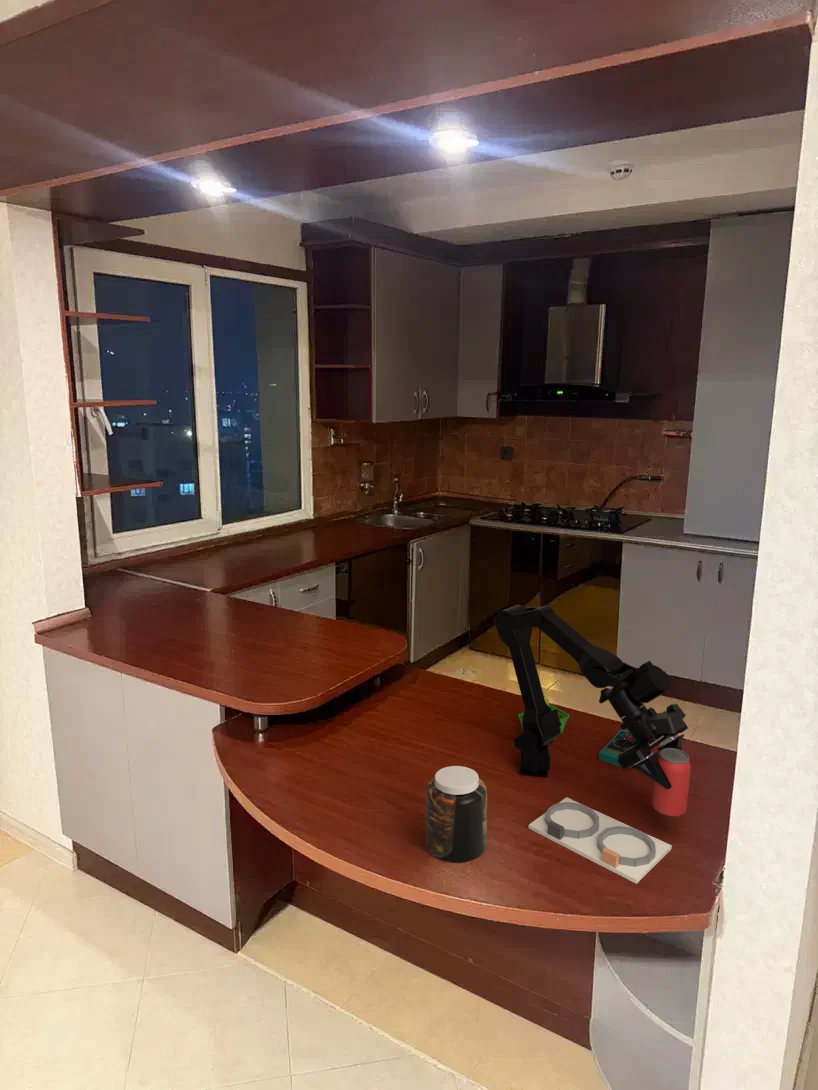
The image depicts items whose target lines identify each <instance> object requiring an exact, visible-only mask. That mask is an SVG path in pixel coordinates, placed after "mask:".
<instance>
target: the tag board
mask: <svg viewBox="0 0 818 1090" xmlns="http://www.w3.org/2000/svg"><path fill="white" fill-rule="evenodd" d="M528 829H529V830H531V831H533V832H535V833H537V834H539V835H541V836H543V837H545V838H547V839H549V840H550V841H553V842H554V843H556V844H558V845H560V846H562V847H564V848H566V849H568V850H570V851H572V852H573V853H575V854H577V855H580V856H582V857H583V858H585V859H588V861H589V860H590V861H591V862H593V863H595V864H597V865H599V866H601V867H603V868H605V869H607V870H609V871H610V872H613V873H615V874H617V875H618V876H620V877H623V878H624V879H626V880H628V881H630V882H632V883H634V884H636V885H637V884H638V883H639V882H640V881H641V880H642V879H643V878H644V877H645V876H646V875H647V874H648V873H649V872H650V871H651V870H652V869H653V868H654V867H655V866H656V865H657V864H658V863H659V862H660V861H661V860H662V859H663V858H664V857H665V856H666V855H667V854H668V853H669V852H670V851H671V850H672V846H673V845H671V844H669V843H667V842H665V841H662V840H661V839H658V838H656V837H653V836H651V835H649V834H647V833H645V832H643V831H641V830H639V829H636V828H634V827H632V826H630V825H628V824H625V823H623V822H621V821H619V820H617V819H614V818H613V817H610V816H608V815H607V814H603V813H602V812H599V811H597V810H595V809H593V808H590V807H588V806H586V805H585V804H582V803H579V801H575V800H574V799H571V798H570V797H564V799H562V800H561V801H560V802H558V803H554V804H552V805H551V806H550V807H549V808H547V809H546V811H545V812H544V813H543V814H541V816H539V817H538V818H536V819H534V821H532V822H530V823H529V824H528Z"/></svg>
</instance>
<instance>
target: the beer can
mask: <svg viewBox="0 0 818 1090" xmlns="http://www.w3.org/2000/svg"><path fill="white" fill-rule="evenodd" d="M658 762H659V764H660V766H661V767H662V769H663V771H664V773H665V774H666V776H667V778H668V780H669V782H670V784H671V786H672V788H670V789H666V788H664V787H663V786H661V785H660V784H658V783H657V782H655V781H654V780H653V793H652V802H651V804H652V807H653V808H654V809H655V810H656V811H657V812H658V813H660V814H662V815H665V816H668V817H680V816H682V815H684V814H685V813H686V811H687V808H688V799H689V798H688V797H689V789H690V779H691V772H692V769H691V768H692V767H691V762H690V756H689V754H688V753H687V752H685V751H684V750H683V749H682V750H679V749H675V748H665V749H662V750H661V751H659V754H658Z"/></svg>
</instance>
